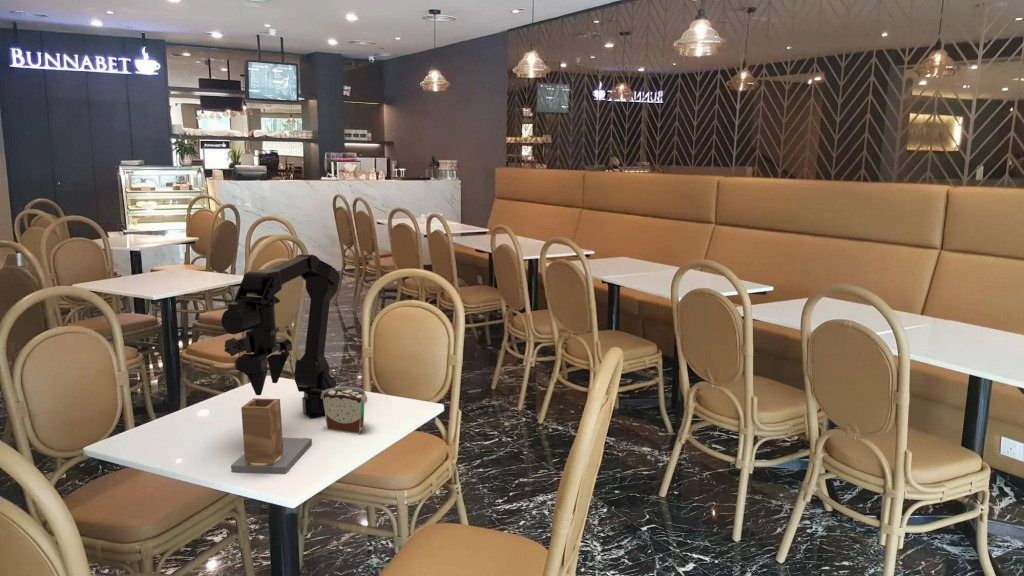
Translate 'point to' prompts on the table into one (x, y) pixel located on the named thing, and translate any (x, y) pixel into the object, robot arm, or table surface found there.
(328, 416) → the food container
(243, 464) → the post stand
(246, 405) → the wooden pencil cup
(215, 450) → the table surface
